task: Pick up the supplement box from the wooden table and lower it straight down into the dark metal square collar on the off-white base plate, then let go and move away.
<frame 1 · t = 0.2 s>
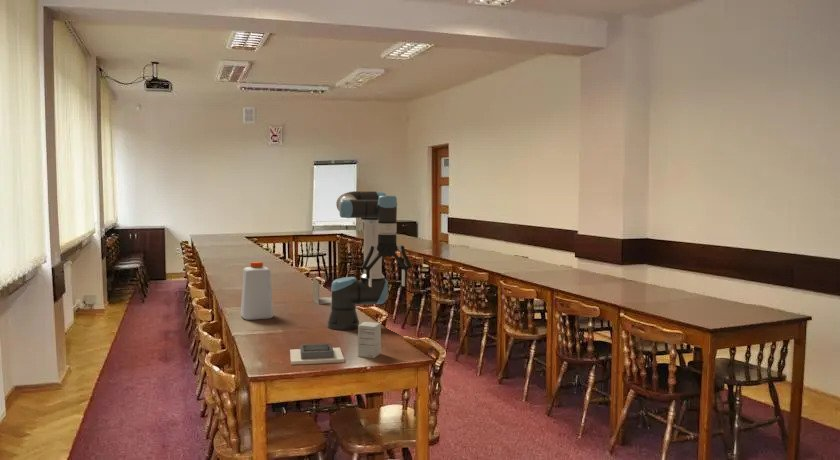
hand: (386, 286, 263), 27 cm above the table, tool pointing down, fingers open, 13 cm apart
supplement box: (369, 355, 260), on the table
base plate: (316, 357, 255), on the table
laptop: (326, 301, 377), on the table
plastic bottle: (256, 317, 330), on the table
collar: (316, 354, 255), resting on base plate
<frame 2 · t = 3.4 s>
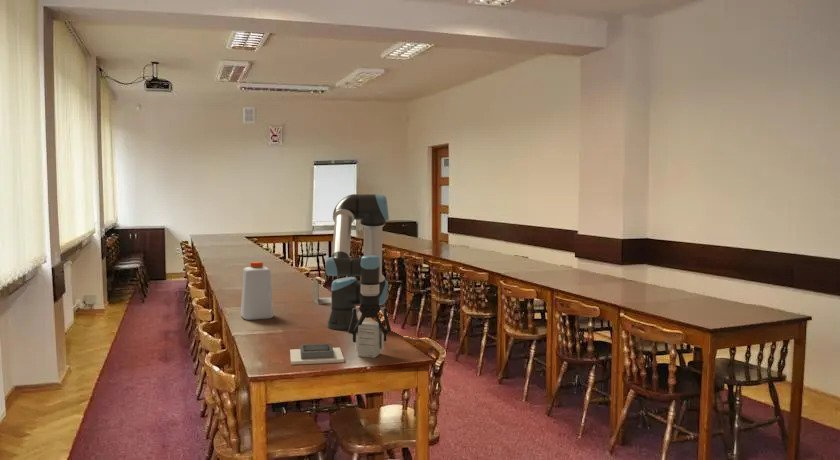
hand: (369, 349, 260), 2 cm above the table, tool pointing down, fingers closed on supplement box, 10 cm apart
supplement box: (369, 355, 260), on the table, touching gripper
everything else where it was.
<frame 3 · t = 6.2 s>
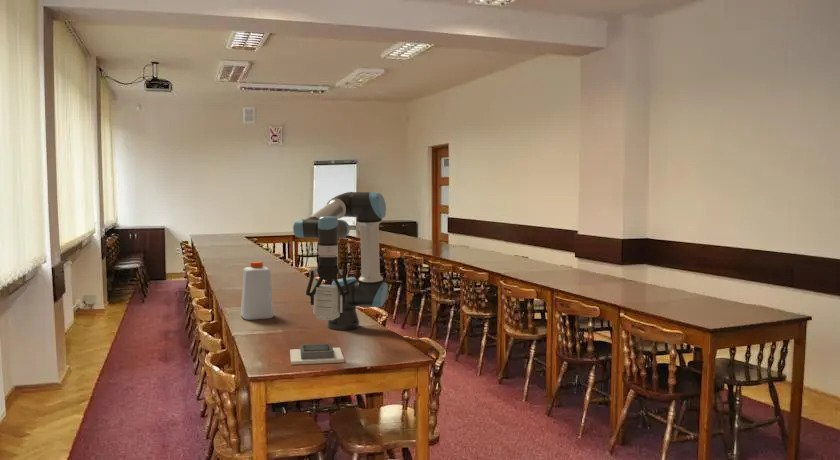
hand: (327, 312, 255), 18 cm above the table, tool pointing down, fingers closed on supplement box, 10 cm apart
supplement box: (327, 318, 255), point 15 cm above the table, touching gripper
everything else where it was.
when the fingers open (5 cm above the table, at t = 9.1 s): supplement box drops 1 cm, resting on base plate.
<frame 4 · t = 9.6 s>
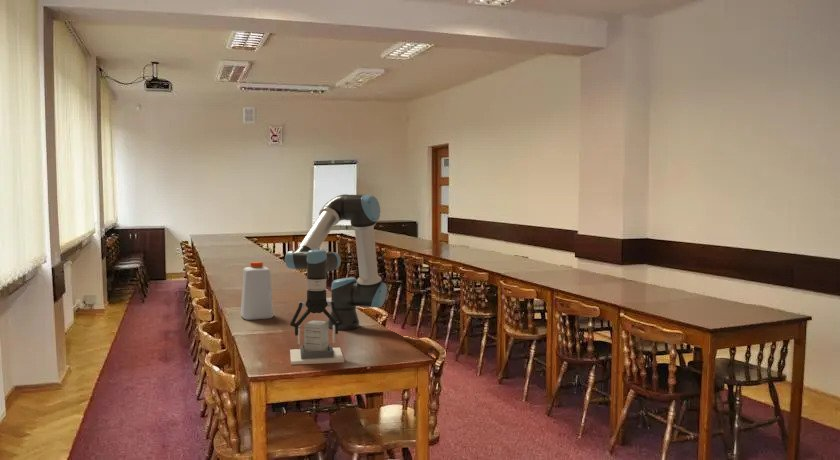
hand: (316, 342, 255), 6 cm above the table, tool pointing down, fingers open, 13 cm apart
supplement box: (316, 354, 255), point 1 cm above the table, touching base plate
everything else where it was.
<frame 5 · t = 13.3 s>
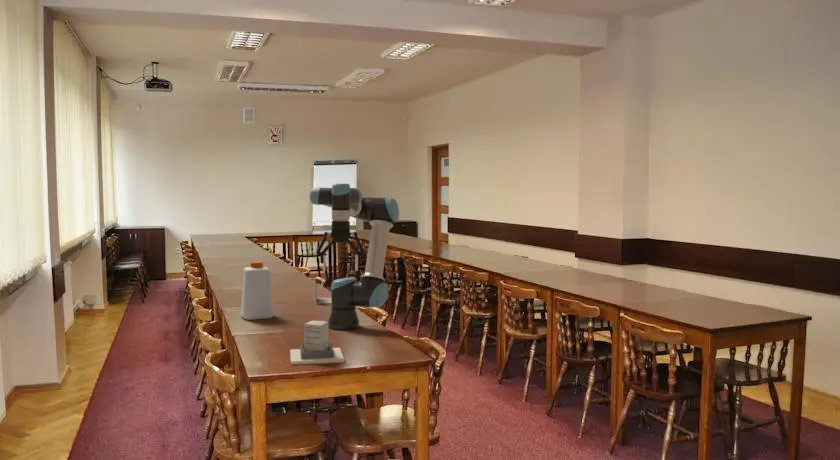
hand: (340, 270, 273), 32 cm above the table, tool pointing down, fingers open, 13 cm apart
nothing on the table moved.
at the end: supplement box 0.0 cm off-centre on the collar, point 0.0 cm above the collar's base; supplement box tilted 0°; the gripper is holding nothing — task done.
